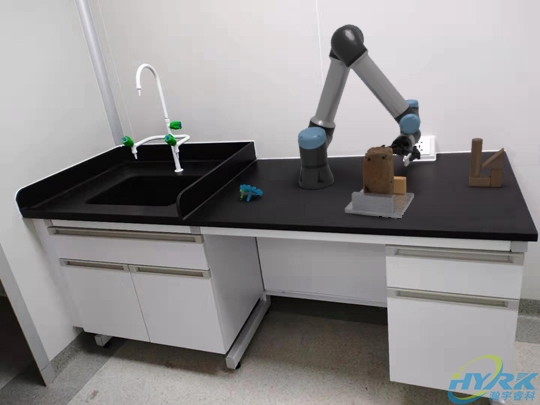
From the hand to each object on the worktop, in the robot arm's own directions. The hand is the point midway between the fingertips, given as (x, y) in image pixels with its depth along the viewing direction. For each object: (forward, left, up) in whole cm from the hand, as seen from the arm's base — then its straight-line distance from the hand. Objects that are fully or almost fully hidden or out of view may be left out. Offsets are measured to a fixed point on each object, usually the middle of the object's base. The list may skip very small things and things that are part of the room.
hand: (386, 161), depth 153 cm
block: (-1, -8, -13) cm, 15 cm away
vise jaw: (-1, +1, -12) cm, 13 cm away
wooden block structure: (+31, +18, -14) cm, 39 cm away
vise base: (-1, -8, -14) cm, 16 cm away
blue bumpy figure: (-54, -14, -14) cm, 58 cm away
